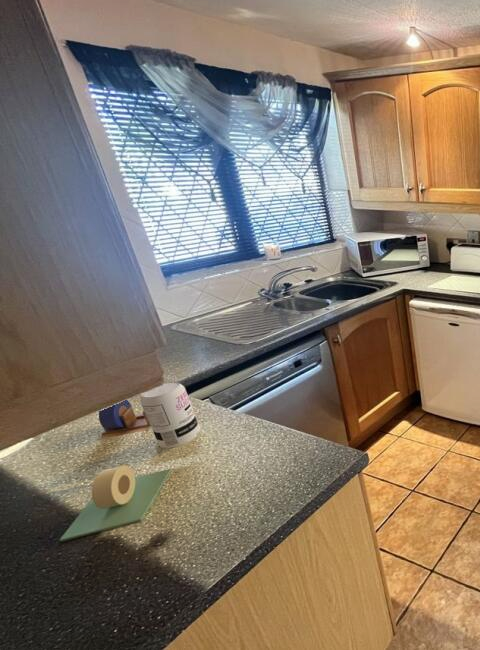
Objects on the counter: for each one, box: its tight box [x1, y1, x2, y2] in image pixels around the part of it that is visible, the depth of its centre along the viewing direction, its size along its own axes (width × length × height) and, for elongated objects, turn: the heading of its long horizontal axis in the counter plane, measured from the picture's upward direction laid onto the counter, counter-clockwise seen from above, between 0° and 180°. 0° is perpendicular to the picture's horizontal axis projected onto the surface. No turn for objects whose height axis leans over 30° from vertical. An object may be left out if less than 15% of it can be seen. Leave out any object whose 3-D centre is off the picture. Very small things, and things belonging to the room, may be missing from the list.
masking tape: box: [91, 465, 136, 509], centre depth 77 cm, size 3×8×8 cm, turn 21°
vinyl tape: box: [98, 399, 132, 430], centre depth 99 cm, size 3×8×8 cm, turn 21°
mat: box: [59, 468, 172, 543], centre depth 79 cm, size 12×14×1 cm
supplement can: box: [139, 380, 201, 449], centre depth 94 cm, size 8×8×15 cm
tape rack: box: [98, 406, 151, 441], centre depth 101 cm, size 10×9×5 cm
